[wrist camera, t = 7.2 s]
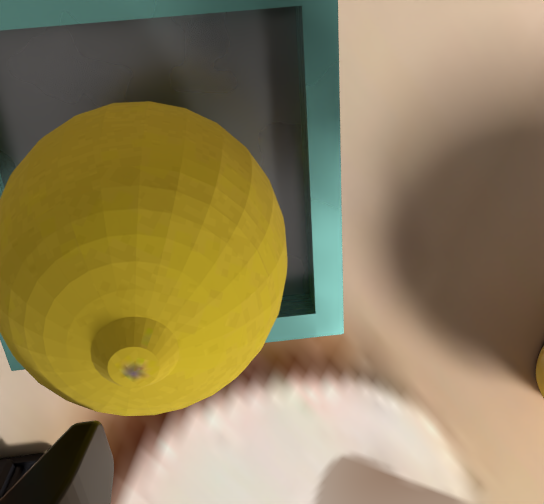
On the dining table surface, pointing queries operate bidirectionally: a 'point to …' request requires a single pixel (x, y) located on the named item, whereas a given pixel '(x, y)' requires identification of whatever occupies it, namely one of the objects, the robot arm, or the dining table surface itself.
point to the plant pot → (540, 371)
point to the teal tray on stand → (200, 105)
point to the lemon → (139, 259)
